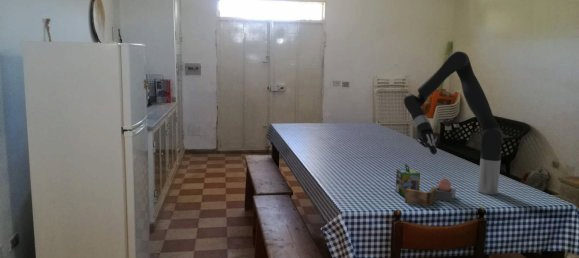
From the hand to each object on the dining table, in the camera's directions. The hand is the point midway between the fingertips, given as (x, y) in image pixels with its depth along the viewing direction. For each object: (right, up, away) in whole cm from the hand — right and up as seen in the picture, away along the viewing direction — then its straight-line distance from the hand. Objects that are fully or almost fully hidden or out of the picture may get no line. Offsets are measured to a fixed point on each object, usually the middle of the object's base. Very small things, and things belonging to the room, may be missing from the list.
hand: (434, 153), depth 214 cm
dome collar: (+2, -21, -7) cm, 22 cm away
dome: (+2, -18, -7) cm, 20 cm away
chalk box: (-14, -20, -2) cm, 25 cm away
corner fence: (-11, -22, -13) cm, 28 cm away
